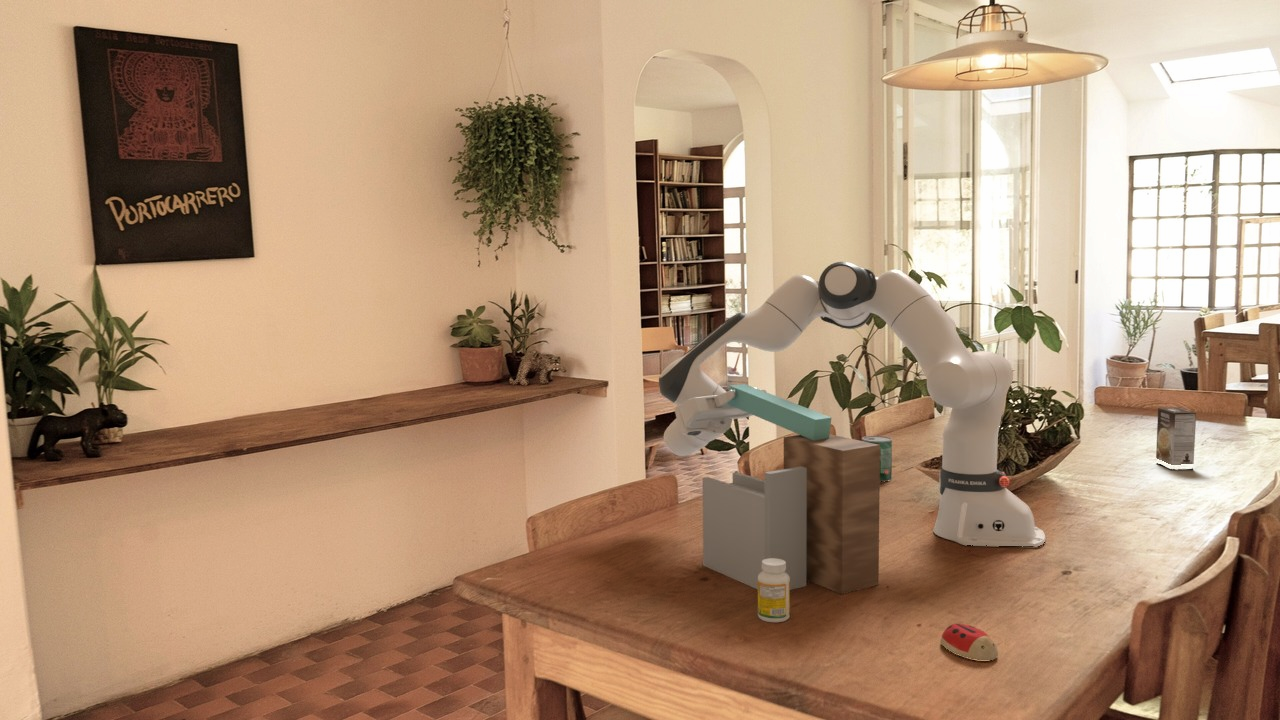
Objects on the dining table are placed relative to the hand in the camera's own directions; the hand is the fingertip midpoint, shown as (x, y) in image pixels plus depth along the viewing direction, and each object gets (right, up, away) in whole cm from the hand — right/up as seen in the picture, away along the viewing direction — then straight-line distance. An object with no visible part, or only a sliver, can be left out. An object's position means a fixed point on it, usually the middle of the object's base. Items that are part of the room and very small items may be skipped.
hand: (745, 391), depth 203 cm
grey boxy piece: (0, -34, -15) cm, 37 cm away
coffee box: (+126, -23, +71) cm, 147 cm away
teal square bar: (+5, -5, -8) cm, 11 cm away
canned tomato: (+42, -26, +63) cm, 80 cm away
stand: (+14, -34, -17) cm, 41 cm away
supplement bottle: (+1, -37, -37) cm, 52 cm away
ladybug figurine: (+29, -38, -52) cm, 71 cm away
